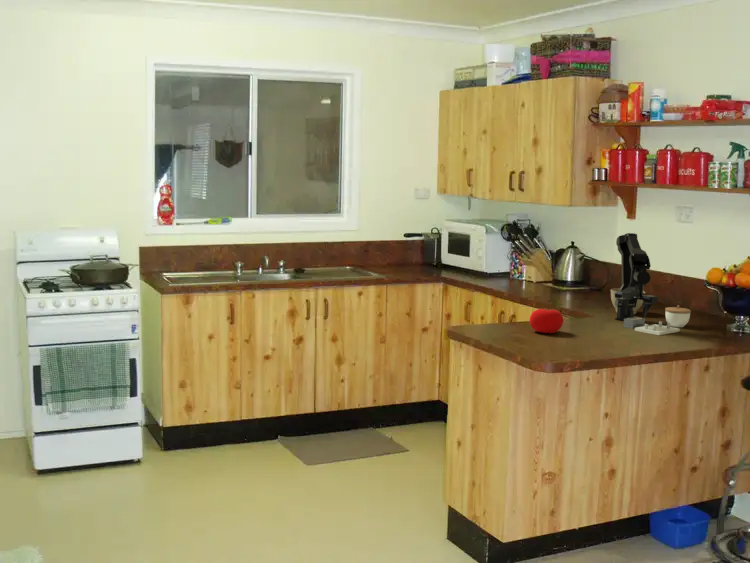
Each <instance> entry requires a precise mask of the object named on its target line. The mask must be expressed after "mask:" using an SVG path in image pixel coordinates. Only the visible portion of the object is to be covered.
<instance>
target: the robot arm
mask: <svg viewBox="0 0 750 563" xmlns="http://www.w3.org/2000/svg"><path fill="white" fill-rule="evenodd" d="M615 242H616V246H617V251H618V252H619V254H620V256H621V262H620V263H621V264H620V265H621V287H620V290H619V291H616V292H615V298H616V300H615V306H617V312H616V317H614V320H618V321H623V322H624V318H632V317H634V314H633V307H634V308H636V304H637V300H638V299H639V300H643V303H642V318H643V319H645V318H646V316H647V315H648V312H649V311H650V309H651V308H652V307H653V306H654V305H655V304H657V303H659V298H658V296H657V295H652V294H647V295H646V292H645V293H643V291H644V288H645V287H646V285H647V284H648V283H650V282H651V275H650V273H649V272H648V271H647V270H650V269H651V261H650V257H649V255H648V254H647V252H646V250H643V249H642V247H641V244H640V242H639V240H638V233H635V232H634V233H633V232H632V233H631V232H629V233H628V232H627V233H624V234H622V235H619V236H618V237H617V238H616V241H615ZM643 295H645V296H643ZM638 297H640V298H638ZM619 303H620V304H619ZM629 304H632V305H629Z"/></svg>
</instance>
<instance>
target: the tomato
mask: <svg viewBox="0 0 750 563" xmlns="http://www.w3.org/2000/svg"><path fill="white" fill-rule="evenodd" d="M528 322H529V325H530V326H531V328H532V329H533V331H535V332H538V333H542V334H547V333H549V335H550V334H555V333H557V332H558V331H560V330H561V328H562V327H563V324H564V317H563V314H562V313H561V312H560V311H559V310H557V309H555V308H549V307H546V308H537V309H535V310H533V312H531V314H530V316H529V321H528Z"/></svg>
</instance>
